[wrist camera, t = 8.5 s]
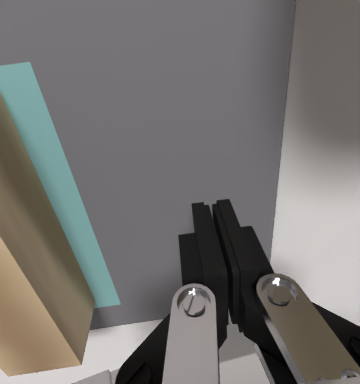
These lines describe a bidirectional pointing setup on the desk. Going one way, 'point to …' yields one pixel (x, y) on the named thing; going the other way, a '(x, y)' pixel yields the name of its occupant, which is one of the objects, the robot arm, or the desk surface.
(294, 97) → the desk surface
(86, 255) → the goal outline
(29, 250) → the pine T block
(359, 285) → the desk surface
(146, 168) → the rubber mat
